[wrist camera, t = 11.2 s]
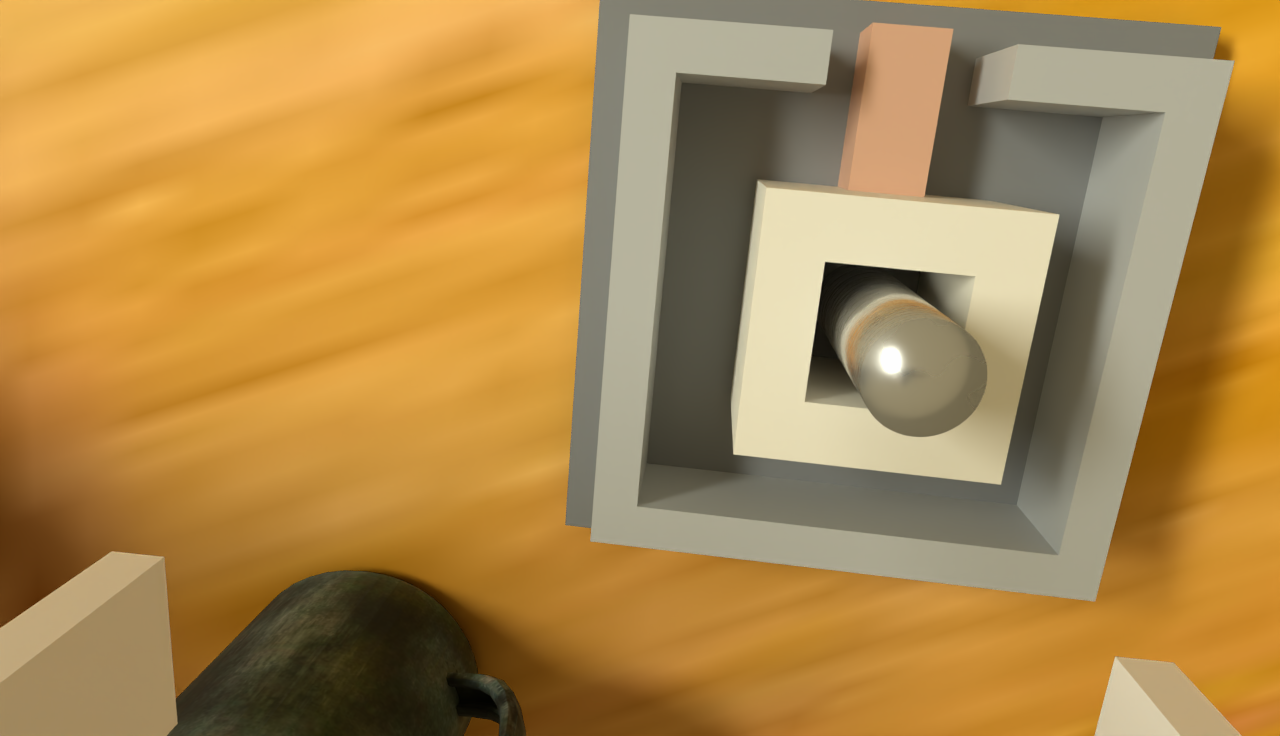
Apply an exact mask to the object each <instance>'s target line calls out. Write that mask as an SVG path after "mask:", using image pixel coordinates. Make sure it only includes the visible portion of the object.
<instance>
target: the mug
mask: <svg viewBox="0 0 1280 736" xmlns="http://www.w3.org/2000/svg"><path fill="white" fill-rule="evenodd" d="M176 710H177V722H178V724H177V725H176V726H175V727H174V728H173V729H172V730H171V731H170V732H169V734H168V735H167V736H464V733H465V731H466V729H467V727H468V724H469V722H470V720H471V717H476V718H483V719H490V720H493V721H495V722H497V723H499V725H500V726H499V735H498V736H526V731H525V726H524V721H523V716H522V712H521V707H520V705H519V703H518V701H517V699H516V697H515V695H514V692H513V691H512V690H511V689H510V688H509V686H508V685H507V684H506V683H505V682H504V681H503V680H500V679H498V678H495V677H492V676H489V675H482V674H478V670H477V666H476V662H475V657H474V654H473V652H472V649H471V647H470V645H469V642H468V640H467V638H466V637H465V635H464V633H463V632H462V630H461V628H460V627H459V625H458V624H457V622H456V621H455V619H454V618H453V617H452V616H451V615H450V614H449V612H448V611H447V610H446V609H445V608H444V607H443V606H442V605H441V604H439V603H438V602H437V601H436V600H435V599H434V598H433V597H431V596H430V595H428V594H427V593H425V592H424V591H422V590H421V589H419V588H417V587H415V586H413V585H411V584H409V583H407V582H405V581H403V580H400V579H397V578H394V577H391V576H388V575H384V574H379V573H373V572H366V571H336V572H326V573H323V574H319V575H315V576H311V577H308V578H306V579H304V580H302V581H299V582H297V583H295V584H293V585H292V586H290V587H289V588H287V589H286V590H284V591H283V592H281V593H280V594H279V595H278V596H277V597H276V598H275V599H274V600H273V601H272V602H271V603H270V604H269V605H268V606H267V607H266V608H265V609H264V610H263V611H262V612H261V613H260V614H259V615H258V616H257V617H256V618H255V619H254V620H253V621H252V622H251V623H250V624H249V625H248V626H247V627H246V628H245V629H244V630H243V631H242V632H241V633H240V634H239V635H238V636H237V637H236V638H235V639H234V640H233V641H232V642H231V643H230V644H229V645H228V646H227V647H226V648H225V649H224V650H223V651H222V652H221V653H220V655H219V656H218V657H217V658H216V659H215V660H214V661H213V662H212V663H211V664H210V665H209V666H208V667H207V668H206V669H205V670H204V671H203V672H202V673H201V674H200V675H199V676H198V677H197V678H196V679H195V680H194V681H193V682H192V683H191V684H190V685H189V686H188V687H187V688H186V689H185V690H184V691H183V692H182V693H181V694H180V695H179V696H178V697H177V698H176Z"/></svg>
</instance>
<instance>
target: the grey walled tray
mask: <svg viewBox="0 0 1280 736" xmlns="http://www.w3.org/2000/svg"><path fill="white" fill-rule="evenodd" d="M872 23H886V24H899V25H911V26H924V27H937V28H949V29H953V35H952V41H951V46H950V52H949V58H948V64H947V69H946V75H945V81H944V87H943V92H942V98H941V104H940V110H939V115H938V121H937V127H936V133H935V138H934V144H933V150H932V156H931V161H930V167H929V173H928V179H927V184H926V190H925V195H934V196H945V197H956V198H967V199H978V200H989V201H994V202H999V203H1004V204H1009V205H1014V206H1019V207H1024V208H1029V209H1034V210H1039V211H1044V212H1049V213H1054V214H1059V220H1058V224H1057V229H1056V233H1055V238H1054V243H1053V247H1052V252H1051V256H1050V261H1049V266H1048V270H1047V275H1046V279H1045V284H1044V289H1043V293H1042V298H1041V302H1040V307H1039V312H1038V316H1037V321H1036V325H1035V330H1034V334H1033V339H1032V344H1031V348H1030V353H1029V357H1028V362H1027V367H1026V371H1025V376H1024V380H1023V385H1022V390H1021V394H1020V399H1019V403H1018V408H1017V413H1016V417H1015V422H1014V426H1013V431H1012V436H1011V440H1010V445H1009V449H1008V454H1007V458H1006V463H1005V468H1004V472H1003V477H1002V481H1001V485H999V484H991V483H982V482H973V481H964V480H955V479H947V478H938V477H929V476H920V475H911V474H902V473H894V472H885V471H876V470H867V469H858V468H849V467H841V466H832V465H823V464H814V463H805V462H797V461H788V460H779V459H770V458H761V457H752V456H744V455H735V454H733V437H732V417H731V389H732V380H733V372H734V364H735V356H736V347H737V339H738V331H739V322H740V314H741V306H742V298H743V289H744V281H745V273H746V264H747V256H748V248H749V240H750V231H751V223H752V215H753V206H754V198H755V190H756V182H757V179H760V180H771V181H782V182H792V183H803V184H814V185H825V186H836V187H838V180H839V174H840V167H841V160H842V153H843V146H844V139H845V133H846V126H847V119H848V112H849V105H850V98H851V92H852V85H853V78H854V71H855V64H856V57H857V50H858V44H859V37H860V33H861V32H862V31H863V30H864V29H866V28H867V27H868V26H869V25H871V24H872ZM1220 30H1221V27H1211V26H1198V25H1185V24H1171V23H1158V22H1145V21H1131V20H1118V19H1104V18H1091V17H1078V16H1064V15H1051V14H1038V13H1024V12H1011V11H997V10H984V9H971V8H957V7H944V6H930V5H917V4H904V3H890V2H877V1H864V0H600V6H599V21H598V37H597V52H596V67H595V82H594V97H593V113H592V128H591V143H590V158H589V174H588V189H587V204H586V219H585V234H584V250H583V265H582V280H581V295H580V310H579V326H578V341H577V356H576V371H575V387H574V402H573V417H572V432H571V447H570V463H569V478H568V493H567V508H566V524H565V525H570V526H579V527H587V528H591V539H590V541H592V542H601V543H609V544H617V545H626V546H634V547H643V548H651V549H659V550H668V551H676V552H684V553H693V554H701V555H710V556H718V557H726V558H735V559H743V560H752V561H760V562H768V563H777V564H785V565H793V566H802V567H810V568H819V569H827V570H835V571H844V572H852V573H861V574H869V575H877V576H886V577H894V578H902V579H911V580H919V581H928V582H936V583H944V584H953V585H961V586H970V587H978V588H986V589H995V590H1003V591H1012V592H1020V593H1028V594H1037V595H1045V596H1053V597H1062V598H1070V599H1079V600H1087V601H1095V600H1096V596H1097V592H1098V589H1099V585H1100V581H1101V577H1102V573H1103V569H1104V565H1105V561H1106V558H1107V554H1108V550H1109V546H1110V542H1111V538H1112V534H1113V530H1114V527H1115V523H1116V519H1117V515H1118V511H1119V507H1120V503H1121V499H1122V496H1123V492H1124V488H1125V484H1126V480H1127V476H1128V472H1129V468H1130V465H1131V461H1132V457H1133V453H1134V449H1135V445H1136V441H1137V437H1138V434H1139V430H1140V426H1141V422H1142V418H1143V414H1144V410H1145V406H1146V403H1147V399H1148V395H1149V391H1150V387H1151V383H1152V379H1153V375H1154V372H1155V368H1156V364H1157V360H1158V356H1159V352H1160V348H1161V344H1162V341H1163V337H1164V333H1165V329H1166V325H1167V321H1168V317H1169V313H1170V310H1171V306H1172V302H1173V298H1174V294H1175V290H1176V286H1177V282H1178V279H1179V275H1180V271H1181V267H1182V263H1183V259H1184V255H1185V251H1186V248H1187V244H1188V240H1189V236H1190V232H1191V228H1192V224H1193V220H1194V217H1195V213H1196V209H1197V205H1198V201H1199V197H1200V193H1201V189H1202V185H1203V182H1204V178H1205V174H1206V170H1207V166H1208V162H1209V158H1210V154H1211V151H1212V147H1213V143H1214V139H1215V135H1216V131H1217V127H1218V123H1219V120H1220V116H1221V112H1222V108H1223V104H1224V100H1225V96H1226V92H1227V89H1228V85H1229V81H1230V77H1231V73H1232V69H1233V65H1234V61H1230V60H1217V59H1213V58H1214V54H1215V50H1216V46H1217V42H1218V38H1219V34H1220ZM842 265H845V264H843V263H833V262H825V265H824V272H823V279H822V281H823V280H824V278H825V277H826V276H827V275H828V274H829V273H830V272H832V271H833V270H834V269H836V268H838V267H840V266H842ZM880 268H882V269H884V270H885V271H886V272H888V273H889V274H890V275H892V276H893V277H894V278H896V279H897V280H898V281H900V282H901V283H903V284H904V285H905V286H907V287H908V288H909V289H911V290H912V291H913V292H915V293H916V294H917V289H918V284H919V278H920V272H921V271H915V270H905V269H894V268H884V267H880ZM811 356H816V357H826V358H835V359H839V357H838V356H837V354H836V352H835V350H834V349H833V347H832V345H831V343H830V342H829V340H828V338H827V336H826V335H825V333H824V331H823V329H822V328H821V326H820V324H819V322H818V320H816V327H815V334H814V341H813V348H812V354H811Z"/></svg>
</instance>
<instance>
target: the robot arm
mask: <svg viewBox="0 0 1280 736" xmlns="http://www.w3.org/2000/svg"><path fill="white" fill-rule="evenodd" d="M177 724H178V722H177V710H176V697H175V685H174V672H173V659H172V647H171V634H170V621H169V609H168V596H167V583H166V571H165V558H164V557H162V556H152V555H143V554H133V553H124V552H114V551H111V552H110V553H109V554H107V555H106V556H104V557H103V558H101V559H100V560H98V561H97V562H95V563H94V564H93V565H91V566H90V567H88V568H87V569H85V570H84V571H82V572H81V573H80V574H78V575H77V576H75V577H74V578H72V579H71V580H69V581H68V582H66V583H65V584H64V585H62V586H61V587H59V588H58V589H56V590H55V591H53V592H52V593H51V594H49V595H48V596H46V597H45V598H43V599H42V600H40V601H39V602H37V603H36V604H35V605H33V606H32V607H30V608H29V609H27V610H26V611H24V612H23V613H22V614H20V615H19V616H17V617H16V618H14V619H13V620H11V621H10V622H8V623H7V624H6V625H4V626H3V627H1V628H0V736H167V735H168V734H169V732H170V731H171V730H172V729H173V728H174V727H175V726H176V725H177ZM1095 736H1241V735H1240V734H1239V732H1238V731H1237V730H1236V729H1235V728H1234V727H1233V726H1232V725H1231V724H1230V723H1229V722H1228V721H1227V720H1226V718H1225V717H1224V716H1223V715H1222V714H1221V713H1220V712H1219V711H1218V710H1217V709H1216V708H1215V707H1214V706H1213V704H1212V703H1211V702H1210V701H1209V700H1208V699H1207V698H1206V697H1205V696H1204V695H1203V694H1202V693H1201V691H1200V690H1199V689H1198V688H1197V687H1196V686H1195V685H1194V684H1193V683H1192V682H1191V681H1190V680H1189V679H1188V677H1187V676H1186V675H1185V674H1184V673H1183V672H1182V671H1181V670H1180V669H1179V668H1178V667H1177V666H1176V665H1175V663H1172V662H1163V661H1153V660H1144V659H1134V658H1125V657H1115V659H1114V663H1113V667H1112V671H1111V675H1110V679H1109V682H1108V686H1107V690H1106V694H1105V698H1104V702H1103V706H1102V709H1101V713H1100V717H1099V721H1098V725H1097V729H1096V733H1095Z"/></svg>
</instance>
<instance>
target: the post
mask: <svg viewBox="0 0 1280 736" xmlns="http://www.w3.org/2000/svg"><path fill="white" fill-rule="evenodd" d="M817 320H818V322H819V324H820V326H821V328H822V329H823V331H824V333H825V335H826V336H827V338H828V340H829V342H830V343H831V345H832V347H833V349H834V350H835V352H836V354H837V356H838V357H839V359H840V361H841V363H842V364H843V366H844V368H845V370H846V371H847V373H848V375H849V377H850V378H851V380H852V382H853V384H854V385H855V387H856V389H857V391H858V392H859V394H860V396H861V398H862V399H863V401H864V403H865V405H866V406H867V408H868V410H869V411H870V413H871V414H872V415H873V417H874V418H875V419H876V420H877V421H878V422H880V423H881V424H882V425H883V426H885V427H886V428H888V429H890V430H892V431H894V432H896V433H899V434H902V435H905V436H911V437H930V436H935V435H939V434H942V433H945V432H947V431H949V430H952V429H954V428H955V427H957V426H959V425H960V424H961V423H963V422H964V421H965V420H966V419H967V418H968V417H969V416H970V415H971V414H972V413H973V412H974V411H975V409H976V408H977V407H978V405H979V403H980V402H981V400H982V397H983V395H984V392H985V389H986V385H987V364H986V360H985V356H984V354H983V352H982V349H981V347H980V346H979V344H978V343H977V341H976V340H975V339H974V338H973V337H972V336H971V335H970V334H969V333H968V332H967V331H966V330H964V329H963V328H962V327H960V326H959V325H958V324H956V323H955V322H954V321H952V320H951V319H950V318H948V317H947V316H945V315H944V314H943V313H941V312H940V311H939V310H937V309H936V308H935V307H933V306H932V305H931V304H929V303H928V302H927V301H925V300H924V299H923V298H921V297H920V296H919V295H917V294H916V293H915V292H913V291H912V290H911V289H909V288H908V287H907V286H905V285H904V284H903V283H901V282H900V281H898V280H897V279H896V278H894V277H893V276H892V275H890V274H889V273H888V272H886V271H885V270H884V269H882V268H880V267H874V266H864V265H853V264H845V265H842V266H840V267H838V268H836V269H834V270H833V271H832V272H830V273H829V274H828V275H827V276H826V277H825V278H824V280H823V281H822V286H821V293H820V300H819V306H818V313H817Z"/></svg>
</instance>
